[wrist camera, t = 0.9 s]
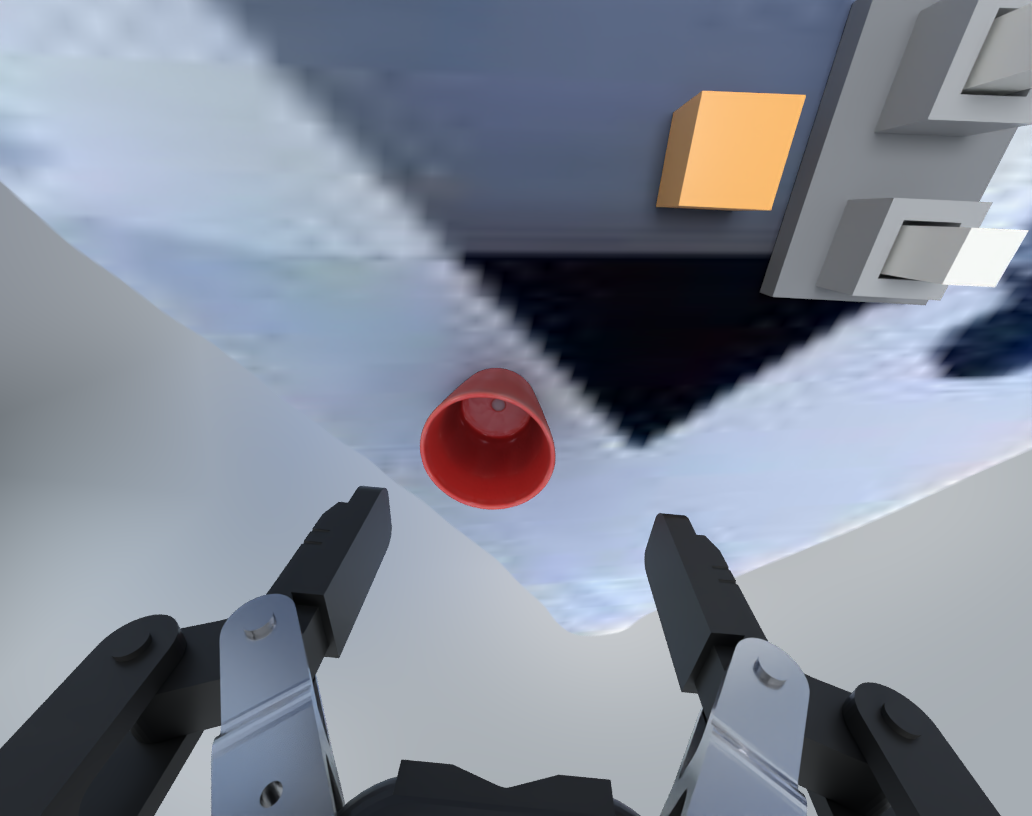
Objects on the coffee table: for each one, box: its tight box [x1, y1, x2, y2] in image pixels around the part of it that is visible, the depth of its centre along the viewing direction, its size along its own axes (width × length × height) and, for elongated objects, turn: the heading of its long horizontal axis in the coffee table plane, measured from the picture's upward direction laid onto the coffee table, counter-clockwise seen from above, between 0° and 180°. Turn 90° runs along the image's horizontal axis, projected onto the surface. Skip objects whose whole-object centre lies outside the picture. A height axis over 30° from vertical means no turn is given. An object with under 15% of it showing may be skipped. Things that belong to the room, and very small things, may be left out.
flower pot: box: [420, 368, 555, 509], centre depth 34 cm, size 11×11×10 cm
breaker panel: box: [760, 0, 1032, 305], centre depth 26 cm, size 18×12×6 cm, turn 177°
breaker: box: [880, 225, 1028, 287], centre depth 24 cm, size 3×3×6 cm
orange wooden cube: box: [656, 91, 806, 211], centre depth 26 cm, size 6×6×6 cm
